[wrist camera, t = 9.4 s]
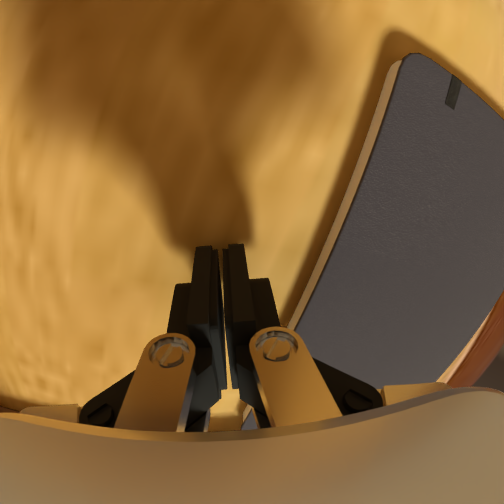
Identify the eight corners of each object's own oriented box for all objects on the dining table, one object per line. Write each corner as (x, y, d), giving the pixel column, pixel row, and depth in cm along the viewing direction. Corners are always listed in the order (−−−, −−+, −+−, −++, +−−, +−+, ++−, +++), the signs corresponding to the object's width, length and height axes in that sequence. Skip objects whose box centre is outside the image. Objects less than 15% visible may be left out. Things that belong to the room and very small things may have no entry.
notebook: (386, 410, 20) (536, 169, 11) (392, 425, 19) (554, 178, 9) (236, 414, 18) (385, 46, 8) (237, 434, 16) (408, 42, 7)
